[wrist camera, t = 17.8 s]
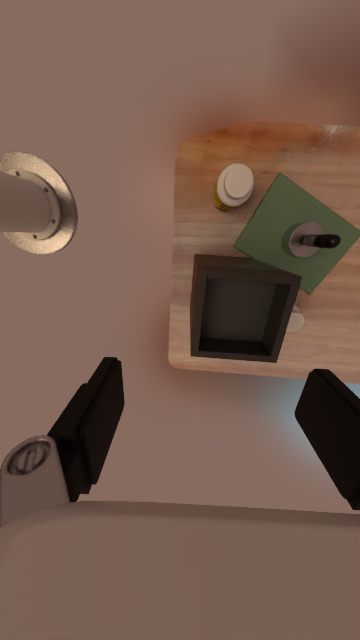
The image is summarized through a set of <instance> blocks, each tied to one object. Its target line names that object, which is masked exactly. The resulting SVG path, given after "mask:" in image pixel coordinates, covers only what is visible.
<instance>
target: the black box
mask: <svg viewBox="0 0 360 640" xmlns="http://www.w3.org/2000/svg"><path fill="white" fill-rule="evenodd" d="M301 280H302V277H301V276H299V275H296V274H293V273H291V272H288V271H285V270H282V269H280V268H277V267H274V266H272V265H269V264H266V263H264V262H261V261H258V260H256V259H253V258H242V257H228V256H213V255H199V254H195V258H194V269H193V280H192V292H191V303H190V338H191V356H195V357H208V358H221V359H234V360H247V361H260V362H272V363H276V362H277V359H278V356H279V352H280V349H281V346H282V343H283V339H284V336H285V333H286V329H287V326H288V323H289V320H290V316H291V313H292V310H293V306H294V303H295V300H296V296H297V293H298V290H299V287H300V283H301Z"/></svg>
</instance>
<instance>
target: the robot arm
mask: <svg viewBox="0 0 360 640" xmlns="http://www.w3.org/2000/svg"><path fill="white" fill-rule="evenodd" d="M60 220H61V210H60V205H59V202H58V199H57V197H56V195H55V193H54V191H53V190H52V188H51V187H50V186H49V185H48V184H47V183H46V182H45V181H44V180H43V179H42V178H41V177H39V176H38V175H36V174H34V173H32V172H29V171H26V170H22V169H13V170H10V171H7V172H6V173H5V172H2V171H0V232H15V233H16V234H18V235H19V236H21V237H23V238H26V239H29V240H45V239H48V238H50V237H51V236H53V235H54V234H55V233H56V231H57V229H58V227H59V224H60ZM55 222H56V223H55ZM123 408H124V392H123V379H122V368H121V361H118V359H117V358H115V357H104V358H103V360H102V361H101V363H100V365H99V366H98V367H97V369H96V371H95V372H94V373H93V375H92V377H91V378H90V380H89V381H88V383H84V384H82V385H81V386H80V388H79V389H78V390H77V392H76V393H75V395H74V396H73V398H72V399H71V401H70V402H69V404H68V405H67V407H66V408H65V410H64V411H63V412H62V414H61V415H60V417H59V418H58V420H57V421H56V422H55V424H54V425H53V427H52V428H51V430H50V431H49V433H48V434H47V436H45V435H41V436H35V437H32V438H29V439H27V440H25V441H23V442H22V443H20V444H19V445H17V446H16V447H15V448H14V449H12V450H11V452H10V453H9V454H8V455H7V456H6V457H5V459H4V461H3V463H2V466H1V469H0V640H360V514H344V513H328V512H314V511H296V510H281V509H264V508H247V507H230V506H211V505H192V504H174V503H154V502H127V501H126V502H125V501H80V502H76V501H77V500H78V497H79V495H80V494H89V491H90V489H91V485H92V484H96V483H97V481H98V479H99V476H100V473H101V470H102V467H103V465H104V462H105V459H106V456H107V453H108V451H109V448H110V445H111V442H112V439H113V437H114V433H115V431H116V428H117V425H118V422H119V420H120V417H121V414H122V411H123ZM295 417H296V420H297V422H298V423H299V425H300V427H301V428H302V430H303V431H304V433H305V435H306V437H307V438H308V440H309V442H310V443H311V445H312V447H313V448H314V450H315V452H316V453H317V455H318V457H319V459H320V460H321V462H322V464H323V465H324V467H325V469H326V470H327V472H328V474H329V475H330V477H331V479H332V480H333V482H334V484H335V486H336V487H337V489H338V491H339V492H340V494H341V495H342V496H343V497H344V498H345V499H347V501H348V502H349V504H350V506H351V507H352V509H353V510H360V399H359V398H358V397H357V396H356V395H355V394H354V393H353V392H352V391H351V390H350V389H349V388H348V387H347V386H346V385H345V384H344V383H343V382H342V381H341V380H339V379H338V378H337V377H336V376H335V375H334V374H333V373H332V372H331V371H330V370H327V369H314V370H313V371H312V372H310V373H309V375H308V378H307V380H306V383H305V386H304V389H303V391H302V394H301V396H300V399H299V402H298V404H297V407H296V410H295Z"/></svg>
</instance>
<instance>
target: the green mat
mask: <svg viewBox="0 0 360 640" xmlns="http://www.w3.org/2000/svg"><path fill="white" fill-rule="evenodd" d="M304 222H315V223H317V224H319V225H320V226H321V227H322V229H323V231H324V234H336V235H339V236H340V238H341V242H340V244H339V245H338V246H337V247H335V248H333V249H328V248H319V250H318V251H317V252H316V253H314V254H313V255H311V256H309V257H304V258H301V257H296V256H291V255H288V254H286V253H285V252H284V250H283V248H282V244H281V242H282V237H283V235H284V233H285V231H286V230H287V229H288V228H289V227H290V226H292V225H294V224H297V223H304ZM359 237H360V230H358V229H357V228H355V227H354V226H353V225H351V224H350V223H349V222H347V221H346V220H344V219H343V218H342V217H340V216H339V215H338V214H336V213H335V212H334V211H332V210H331V209H329V208H328V207H327V206H325V205H324V204H323V203H321V202H320V201H318V200H317V199H316V198H314V197H313V196H312V195H310V194H309V193H307V192H306V191H305V190H303V189H302V188H301V187H299V186H298V185H297V184H295V183H294V182H292V181H291V180H290V179H288V178H287V177H286V176H284V175H283V174H281V173H279V174H278V176H277V177H276V179H275V181H274V182H273V184H272V185H271V187H270V188H269V190H268V192H267V193H266V195H265V196H264V198H263V200H262V201H261V203H260V204H259V206H258V208H257V209H256V211H255V212H254V214H253V216H252V217H251V219H250V220H249V222H248V223H247V225H246V227H245V228H244V230H243V231H242V233H241V235H240V236H239V238H238V239H237V241H236V243H235V244H234V247H235V248H237V249H239V250H240V251H242V252H243V253H245V254H247V255H248V256H250V257H251V258H253V259H256V260H258V261H261V262H264V263H266V264H269V265H272V266H274V267H277V268H280V269H282V270H285V271H288V272H291V273H293V274H296V275H299V276H301V277H302V280H301V283H300V287H299V288H301V289H302V290H304V291H306V292H307V293H309V294H311V293H312V291H313V290H314V289H315V288H316V287H317V286H318V284H319V283H320V282H321V281H322V280H323V279H324V277H325V276H326V275H327V274H328V273H329V272H330V270H331V269H332V268H333V267H334V266H335V265H336V264H337V262H338V261H339V260H340V259H341V258H342V257H343V255H344V254H345V253H346V252H347V251H348V250H349V248H350V247H351V246H352V245H353V244H354V243H355V241H356V240H357V239H358V238H359Z"/></svg>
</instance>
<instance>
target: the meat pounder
mask: <svg viewBox="0 0 360 640" xmlns="http://www.w3.org/2000/svg"><path fill="white" fill-rule="evenodd" d="M340 242H341V238H340V236H339V235H336V234H324V231H323V229H322V227H321V226H320V225H319V224H317V223H315V222H304V223H297V224H294V225H292V226H290V227H289V228H288V229H287V230H286V231H285V233H284V235H283V237H282V242H281V244H282V248H283V250H284V252H285V253H286V254H288V255H291V256H296V257H301V258H304V257H309V256H311V255H313V254H314V253H316V252H317V251H318V250H319V248H328V249H333V248H335V247H337V246H338V245H339V244H340Z"/></svg>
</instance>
